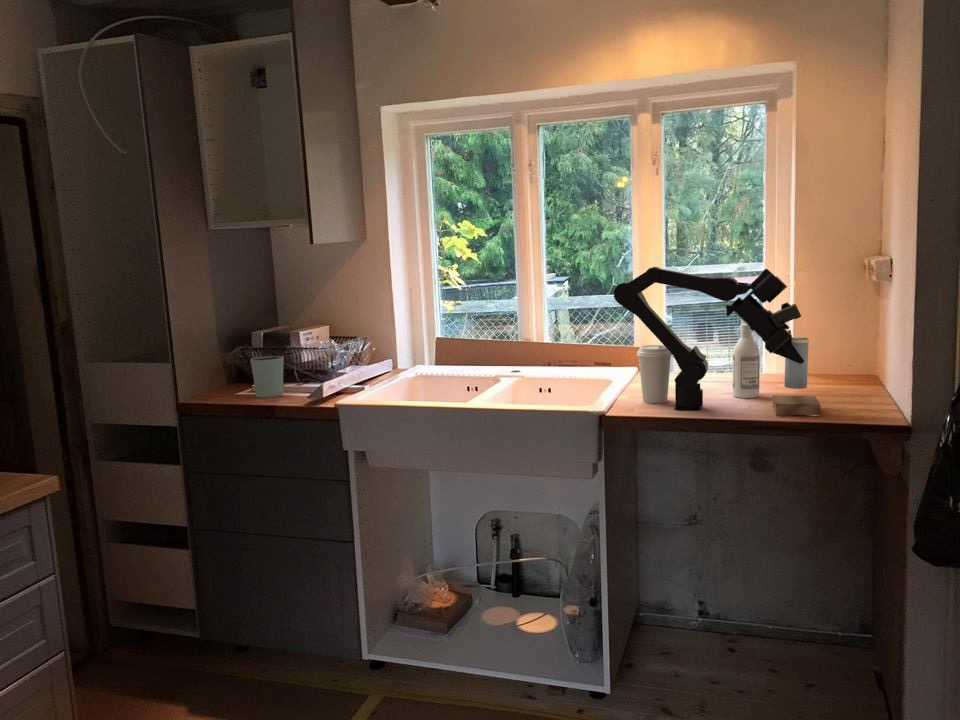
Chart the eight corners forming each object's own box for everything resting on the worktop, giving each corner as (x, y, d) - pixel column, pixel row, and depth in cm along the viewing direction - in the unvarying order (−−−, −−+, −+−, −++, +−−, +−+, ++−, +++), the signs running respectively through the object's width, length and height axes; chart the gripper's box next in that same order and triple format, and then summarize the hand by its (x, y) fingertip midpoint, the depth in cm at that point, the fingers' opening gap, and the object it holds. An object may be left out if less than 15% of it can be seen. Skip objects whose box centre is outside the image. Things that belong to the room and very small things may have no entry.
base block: (775, 415, 189) (776, 403, 188) (772, 406, 198) (772, 395, 198) (820, 416, 186) (820, 404, 186) (814, 407, 195) (815, 395, 195)
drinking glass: (249, 398, 241) (245, 360, 239) (259, 392, 251) (256, 355, 249) (281, 397, 241) (278, 359, 239) (290, 391, 251) (287, 354, 249)
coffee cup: (666, 405, 205) (666, 350, 203) (632, 403, 210) (631, 348, 207) (677, 398, 213) (677, 345, 211) (644, 396, 218) (643, 343, 216)
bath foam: (764, 396, 211) (765, 323, 208) (746, 399, 208) (747, 326, 205) (744, 392, 217) (745, 322, 214) (727, 396, 214) (727, 324, 211)
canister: (784, 388, 190) (786, 340, 188) (783, 384, 195) (784, 337, 193) (808, 389, 188) (810, 340, 186) (806, 384, 193) (808, 337, 191)
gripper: (781, 296, 180) (831, 343, 178) (780, 290, 198) (826, 333, 195) (745, 329, 184) (793, 375, 182) (747, 320, 202) (791, 363, 199)
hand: (802, 360), depth 190 cm, fingers closed on canister, 5 cm apart
